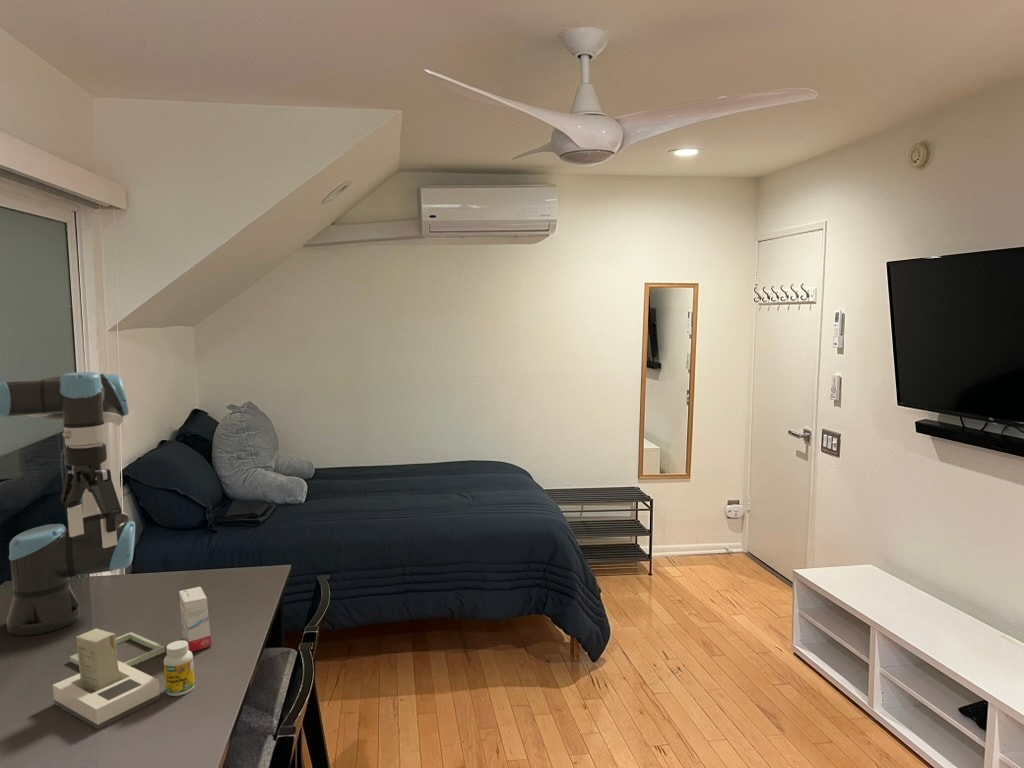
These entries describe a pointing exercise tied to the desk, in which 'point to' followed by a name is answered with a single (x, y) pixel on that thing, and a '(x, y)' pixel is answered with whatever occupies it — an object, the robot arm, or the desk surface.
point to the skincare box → (97, 660)
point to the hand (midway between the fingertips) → (93, 540)
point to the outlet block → (107, 697)
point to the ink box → (195, 618)
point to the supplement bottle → (178, 669)
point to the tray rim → (155, 646)
